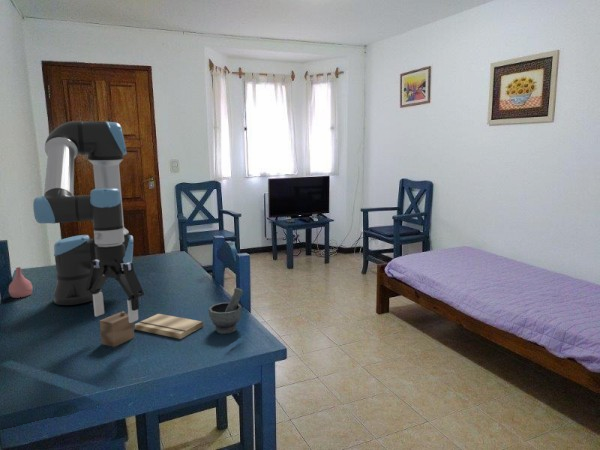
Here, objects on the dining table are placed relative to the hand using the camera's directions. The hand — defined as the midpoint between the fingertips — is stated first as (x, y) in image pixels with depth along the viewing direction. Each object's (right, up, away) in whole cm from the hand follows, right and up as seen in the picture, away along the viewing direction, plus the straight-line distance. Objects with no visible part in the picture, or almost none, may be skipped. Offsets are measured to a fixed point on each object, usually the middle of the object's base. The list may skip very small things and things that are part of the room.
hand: (116, 318), depth 119 cm
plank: (+12, -5, +10) cm, 16 cm away
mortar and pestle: (+30, -5, +9) cm, 32 cm away
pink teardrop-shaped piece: (-55, -2, +42) cm, 69 cm away
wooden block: (0, -7, +1) cm, 7 cm away
